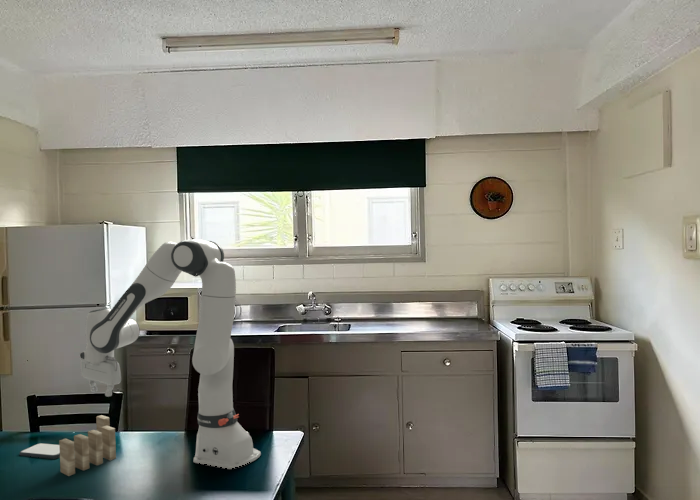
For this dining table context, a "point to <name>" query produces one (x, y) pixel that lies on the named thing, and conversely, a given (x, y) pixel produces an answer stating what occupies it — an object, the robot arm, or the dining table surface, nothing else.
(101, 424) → the tile
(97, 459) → the light brown wooden block
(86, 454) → the tile
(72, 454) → the tile
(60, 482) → the dining table surface
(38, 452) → the smartphone
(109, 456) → the tan rectangular block
